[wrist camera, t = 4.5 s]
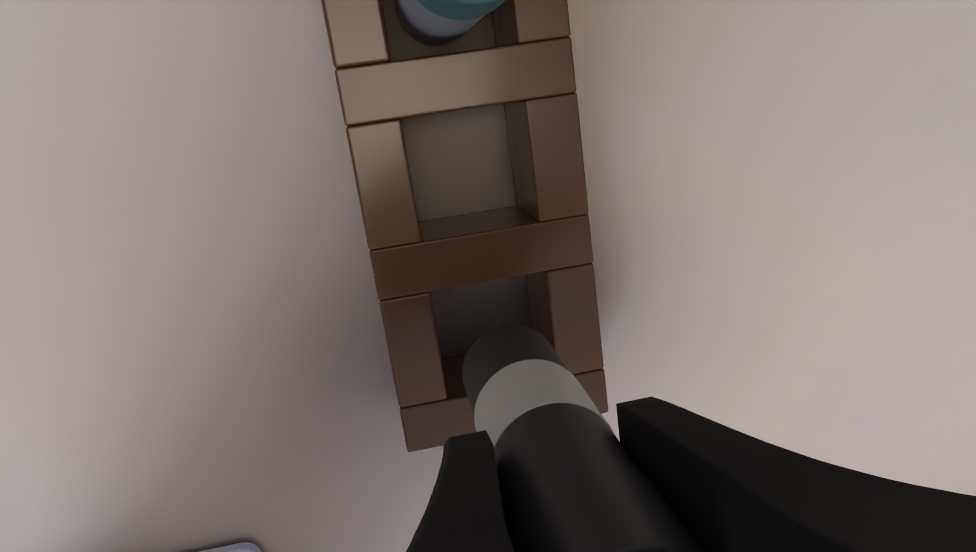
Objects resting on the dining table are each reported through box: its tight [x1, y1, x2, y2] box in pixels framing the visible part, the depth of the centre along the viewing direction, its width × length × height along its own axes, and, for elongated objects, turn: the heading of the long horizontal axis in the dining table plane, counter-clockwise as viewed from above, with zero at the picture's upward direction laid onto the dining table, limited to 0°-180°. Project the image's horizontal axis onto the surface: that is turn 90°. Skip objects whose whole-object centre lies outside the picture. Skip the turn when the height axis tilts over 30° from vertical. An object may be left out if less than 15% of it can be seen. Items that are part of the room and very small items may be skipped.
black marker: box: [462, 325, 702, 552], centre depth 11 cm, size 2×2×8 cm
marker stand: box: [321, 0, 608, 452], centre depth 18 cm, size 14×6×3 cm, turn 8°
